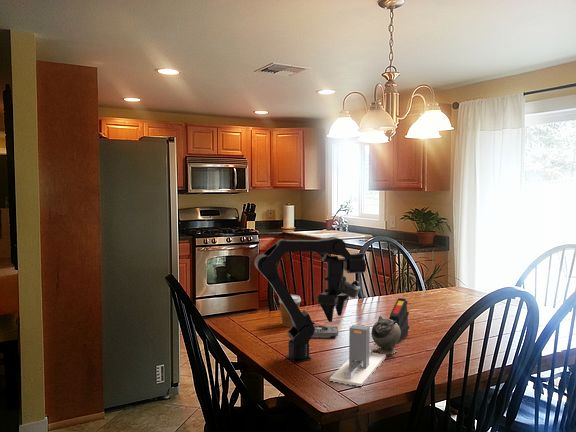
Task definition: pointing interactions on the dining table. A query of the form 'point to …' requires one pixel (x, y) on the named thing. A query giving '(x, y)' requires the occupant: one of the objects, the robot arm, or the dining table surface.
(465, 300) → the dining table surface
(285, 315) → the disposable coffee cup
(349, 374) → the metal rail
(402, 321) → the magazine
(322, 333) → the graphics card
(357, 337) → the module
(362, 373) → the mounting board
